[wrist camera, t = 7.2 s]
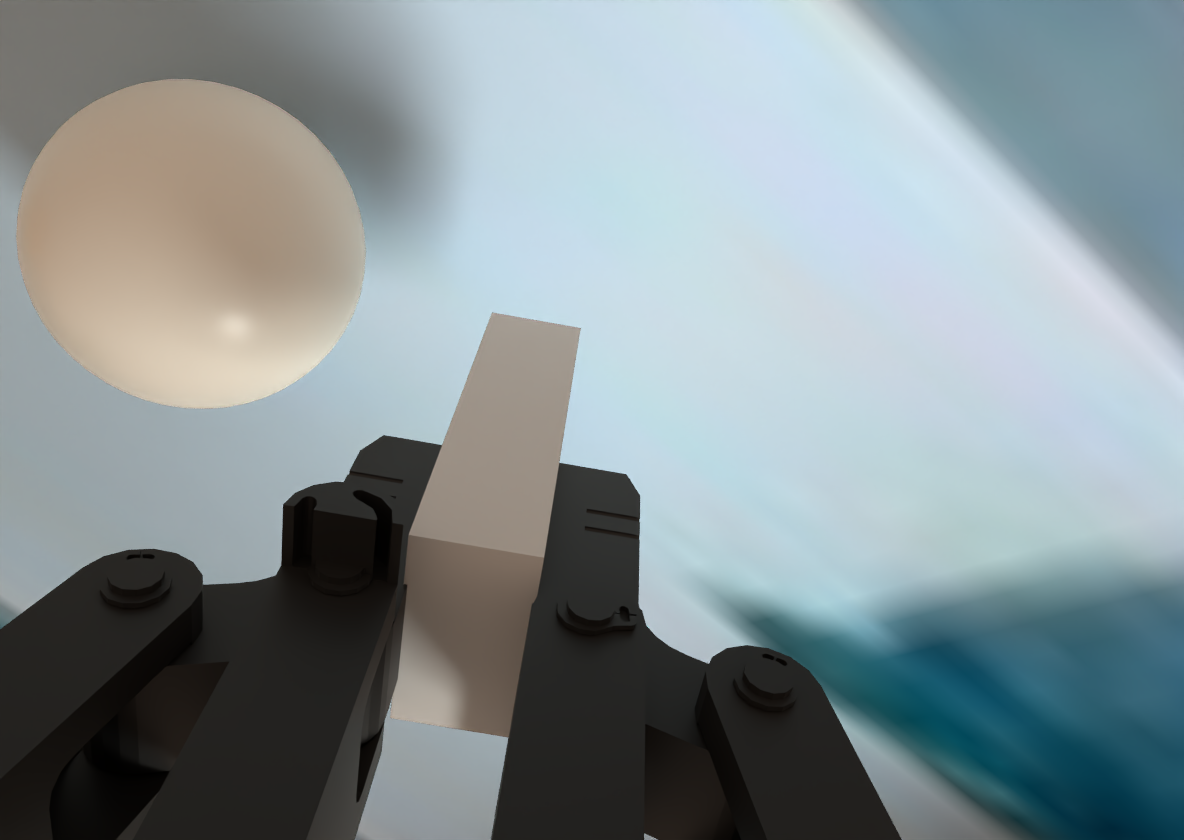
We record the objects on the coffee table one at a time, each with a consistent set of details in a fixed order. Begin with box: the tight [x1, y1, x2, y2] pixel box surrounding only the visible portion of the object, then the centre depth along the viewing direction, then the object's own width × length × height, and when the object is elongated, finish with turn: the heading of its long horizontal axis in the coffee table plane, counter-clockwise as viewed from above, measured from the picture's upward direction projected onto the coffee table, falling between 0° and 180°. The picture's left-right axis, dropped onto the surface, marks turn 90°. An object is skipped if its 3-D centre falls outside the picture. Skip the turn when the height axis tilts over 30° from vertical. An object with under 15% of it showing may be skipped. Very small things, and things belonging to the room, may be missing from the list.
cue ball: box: [16, 79, 366, 409], centre depth 17 cm, size 6×6×6 cm
